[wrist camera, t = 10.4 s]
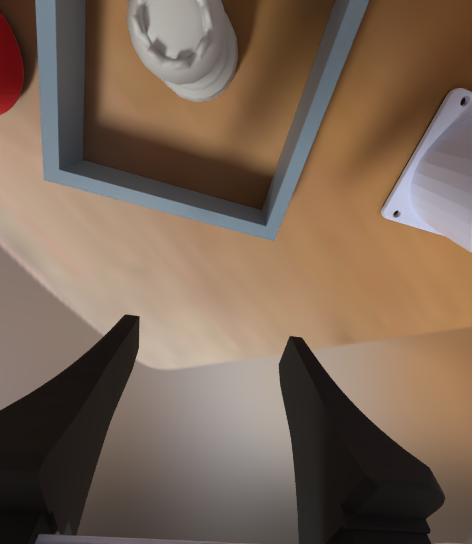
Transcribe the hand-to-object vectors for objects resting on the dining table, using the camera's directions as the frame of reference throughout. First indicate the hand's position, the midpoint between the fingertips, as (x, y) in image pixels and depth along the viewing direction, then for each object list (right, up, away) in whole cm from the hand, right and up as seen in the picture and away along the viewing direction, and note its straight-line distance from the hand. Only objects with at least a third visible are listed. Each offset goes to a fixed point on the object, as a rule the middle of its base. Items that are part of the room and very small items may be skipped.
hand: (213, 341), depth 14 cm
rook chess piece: (-1, +15, +2) cm, 15 cm away
